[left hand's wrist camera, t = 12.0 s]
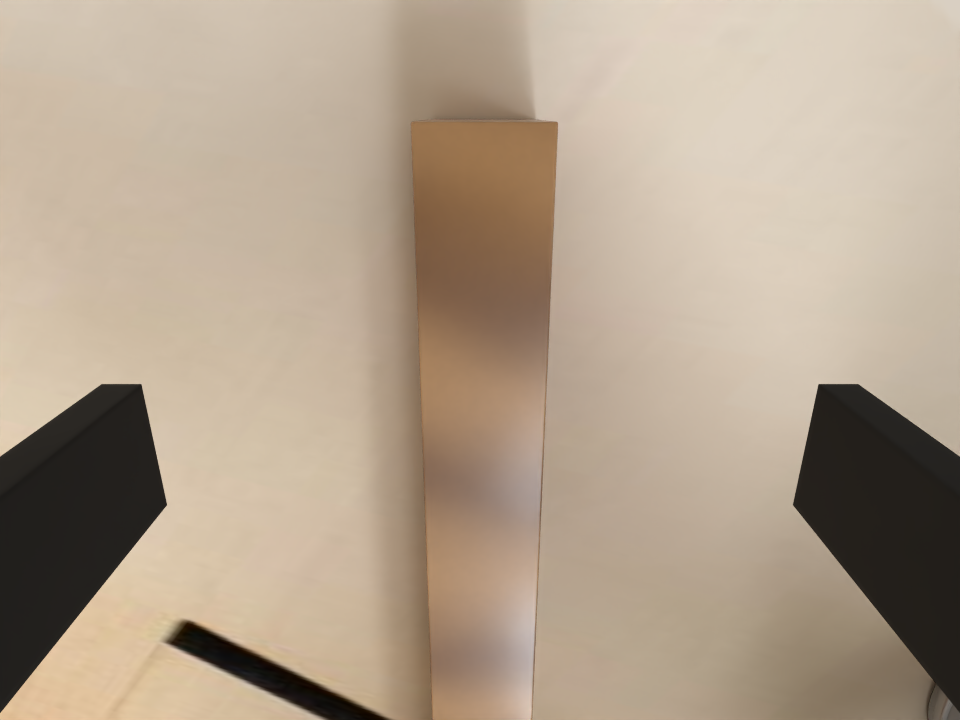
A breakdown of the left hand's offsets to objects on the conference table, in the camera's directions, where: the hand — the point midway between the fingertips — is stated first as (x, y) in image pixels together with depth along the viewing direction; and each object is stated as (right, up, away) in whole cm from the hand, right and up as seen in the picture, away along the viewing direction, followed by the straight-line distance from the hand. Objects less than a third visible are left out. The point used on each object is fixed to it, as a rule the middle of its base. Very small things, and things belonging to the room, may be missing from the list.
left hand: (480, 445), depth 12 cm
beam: (0, -25, +30) cm, 39 cm away
